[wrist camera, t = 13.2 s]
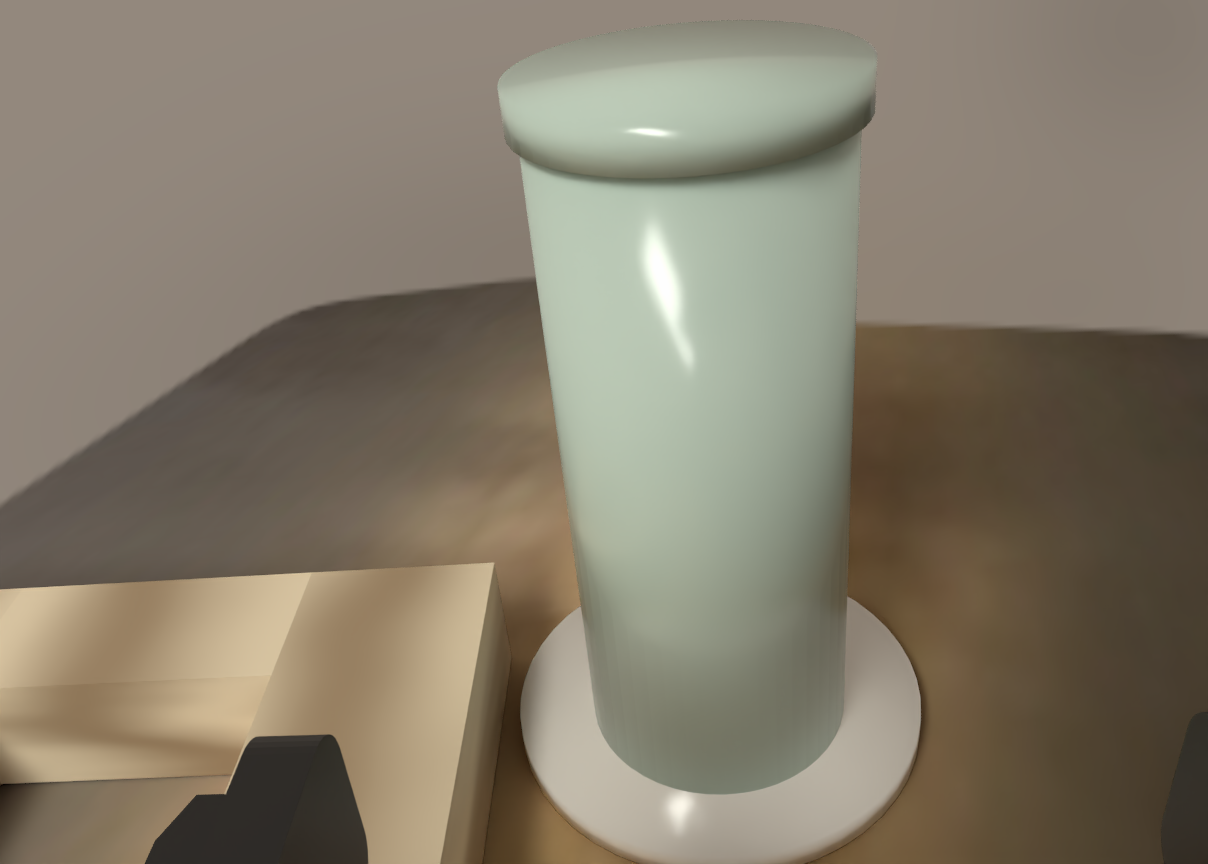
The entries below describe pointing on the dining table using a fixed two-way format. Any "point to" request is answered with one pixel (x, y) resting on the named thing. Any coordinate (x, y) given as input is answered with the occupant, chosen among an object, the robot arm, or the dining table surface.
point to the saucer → (734, 821)
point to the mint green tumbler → (703, 375)
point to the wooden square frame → (271, 688)
